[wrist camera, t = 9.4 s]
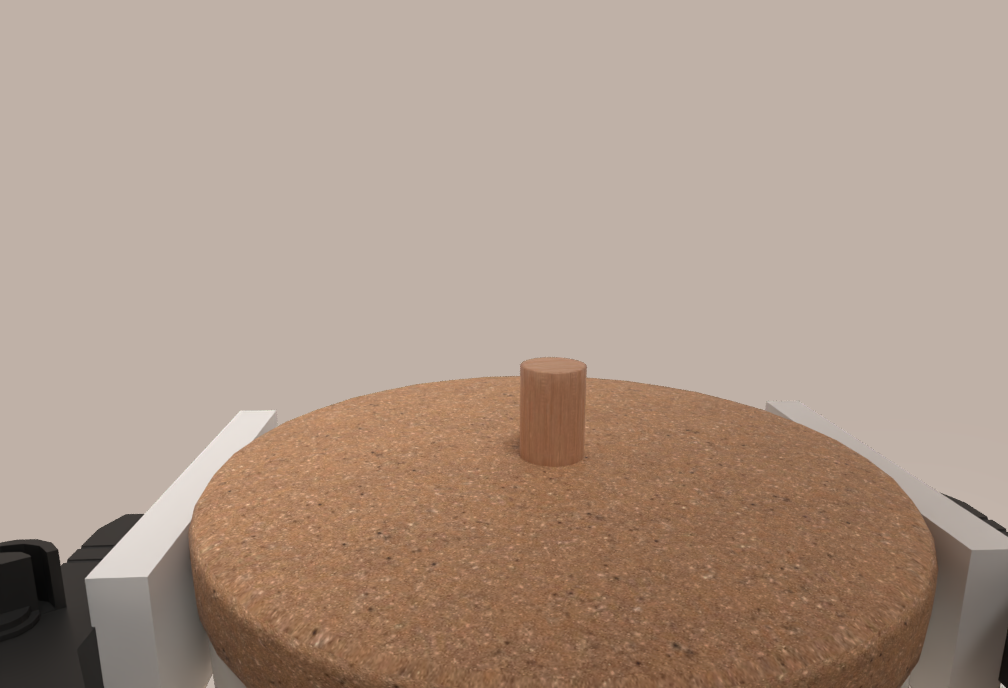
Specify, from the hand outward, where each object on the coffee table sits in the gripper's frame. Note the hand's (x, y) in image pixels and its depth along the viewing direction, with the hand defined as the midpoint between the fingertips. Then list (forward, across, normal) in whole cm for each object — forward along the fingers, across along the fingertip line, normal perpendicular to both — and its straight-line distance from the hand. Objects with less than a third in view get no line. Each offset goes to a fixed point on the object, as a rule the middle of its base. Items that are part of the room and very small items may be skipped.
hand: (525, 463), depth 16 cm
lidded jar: (-4, 0, -6) cm, 7 cm away
